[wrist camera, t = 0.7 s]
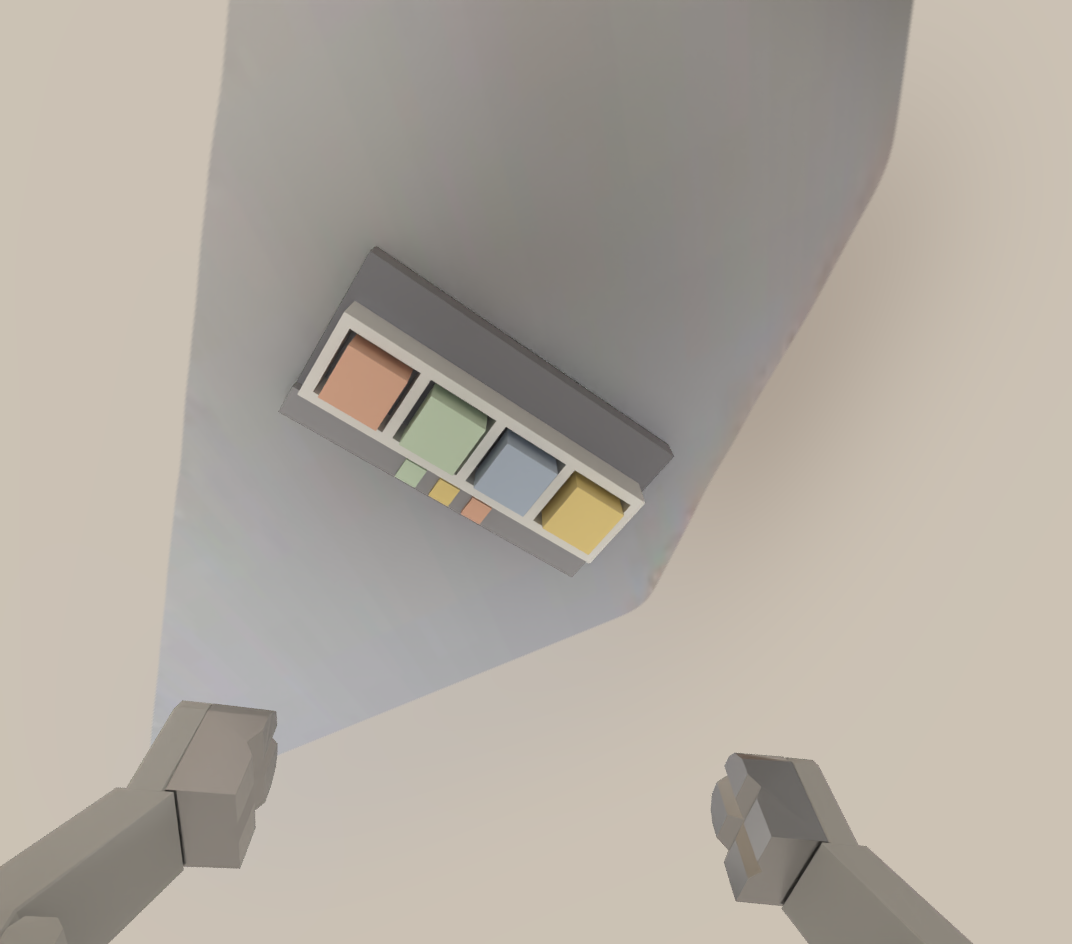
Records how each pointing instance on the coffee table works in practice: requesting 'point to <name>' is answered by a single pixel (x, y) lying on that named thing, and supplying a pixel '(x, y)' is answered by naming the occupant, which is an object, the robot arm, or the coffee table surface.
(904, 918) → the robot arm
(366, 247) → the coffee table surface
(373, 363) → the key terracotta
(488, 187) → the coffee table surface
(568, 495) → the key ochre
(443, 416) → the key sage
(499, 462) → the key slate
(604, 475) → the coloured button panel
